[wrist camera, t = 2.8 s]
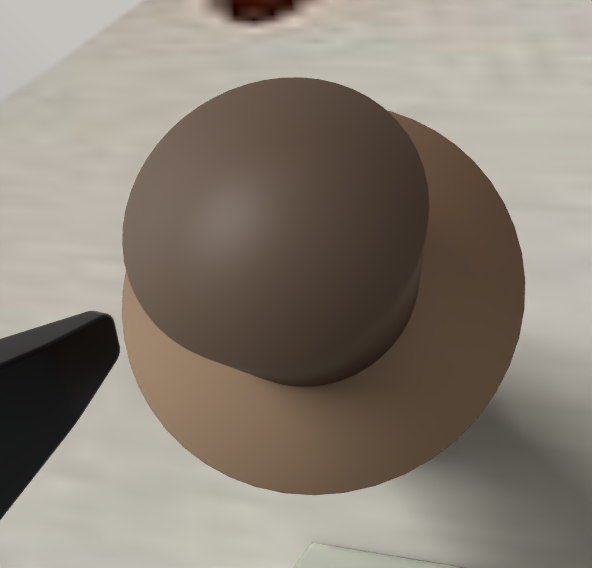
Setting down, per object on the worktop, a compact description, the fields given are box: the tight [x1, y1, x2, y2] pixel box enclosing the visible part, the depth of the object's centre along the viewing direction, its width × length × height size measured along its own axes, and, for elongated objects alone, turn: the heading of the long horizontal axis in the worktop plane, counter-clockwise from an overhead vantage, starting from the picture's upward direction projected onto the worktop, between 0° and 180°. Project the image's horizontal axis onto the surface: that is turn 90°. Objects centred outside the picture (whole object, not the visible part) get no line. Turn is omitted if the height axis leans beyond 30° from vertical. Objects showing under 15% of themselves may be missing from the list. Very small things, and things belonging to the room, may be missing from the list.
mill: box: [122, 78, 525, 495], centre depth 10 cm, size 4×4×14 cm
